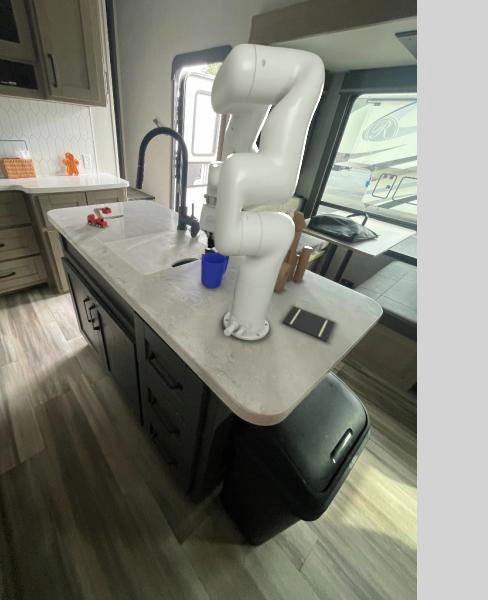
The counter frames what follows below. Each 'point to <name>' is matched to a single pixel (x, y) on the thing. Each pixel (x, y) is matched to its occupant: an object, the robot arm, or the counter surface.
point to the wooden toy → (294, 257)
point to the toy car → (210, 251)
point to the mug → (213, 269)
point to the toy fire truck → (100, 219)
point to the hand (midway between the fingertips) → (211, 247)
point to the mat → (309, 323)
